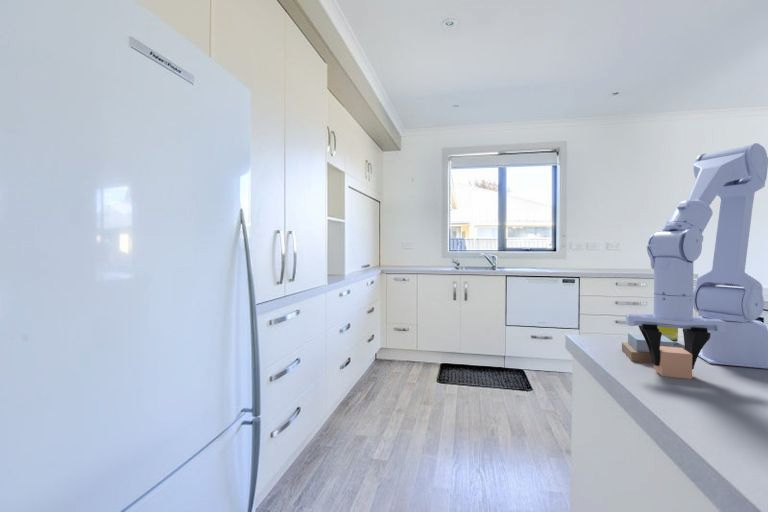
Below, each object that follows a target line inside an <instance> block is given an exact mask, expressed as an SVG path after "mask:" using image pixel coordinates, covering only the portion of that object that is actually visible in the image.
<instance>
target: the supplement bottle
mask: <svg viewBox="0 0 768 512" xmlns="http://www.w3.org/2000/svg"><path fill="white" fill-rule="evenodd" d="M654 324H655V323H654ZM662 324H664V323H662ZM670 325H673V324H670ZM657 328H658V329H659V331H660V332H661V333H662V335H663V336H665V337H667V338H668V339H670V340H671V341H673V342H674V345H675V344H678V342H677V341H678V339H679V337H678V336H679V334H678V333H679V330H678V329H679V328H668V327H657Z"/></svg>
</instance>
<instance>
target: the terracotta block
mask: <svg viewBox="0 0 768 512" xmlns="http://www.w3.org/2000/svg"><path fill="white" fill-rule="evenodd" d="M653 369H654V370H655V371H656V372H657V373H658V374H659V375H660V376H662V377H668V378H676V379H687V380H692V379H693V369H692V354H691V353H689V352H688V351H686V350H685V348H683V347H676V346H674V347H665V346H660V365H659V366H655V365H654V364H653Z"/></svg>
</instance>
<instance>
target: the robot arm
mask: <svg viewBox="0 0 768 512" xmlns="http://www.w3.org/2000/svg"><path fill="white" fill-rule="evenodd" d="M693 173H694V177H695V180H694V183H693V184H692V188H691V190H690V192H689V194H688V197H687V199H686V200H683V201H680V202H678V203H677V204H676V206H675V208H674V209H673V211H672V213H671V214H670V215H669V218H668V220H667V221H666V222H665V225H664V226H663V228H662V229H661V231H657V232H655V233H654V234H652V235H651V236H650V237H649V240H648V243H647V245H646V250H647V251H646V252H647V255H648V257H649V260H650V267H651V269H652V270H653V314H631V313H630V314H628V313H626V314H625V324H626V325H627V326H629V327H635V326H638V328H639V331H640V332H641V334H643V336H644V338H645V340H646V343H647V345H648V348H649V351H650V355H651V360H652V363H651V364H652V365H653V366H654V365H655V366H659V365H660V341H661V336H662V333H661V332H660V331H659V329H658V328H657V327H668V328H678V329H682V333H683V342H684V343H683V344H684V349H685V350H686V351H688V352H689V353H691V354H692V370H694V368H695V365H696V362H697V359H698V357H700V358H701V359H702V360H704V361H705V362H707V363H709V364H713V365H725V366H735V367H736V366H737V367H746V368H755V369H756V368H757V369H759V368H760V369H768V327H767V326H766V324H765V323H764V322H762V321H761V320H757V319H758V318H760V317H761V316H762V313H763V311H764V307H765V300H764V296H763V290H764V288H763V284H762V283H761V282H760V281H758V280H757V279H756V278H754V277H753V276H751V275H749V274H748V273H746V264H747V255H748V247H749V238H750V232H751V231H750V229H751V223H752V222H751V221H752V214H753V207H754V206H753V205H754V199H755V193H756V192H757V191H759V190H761V189H763V188H764V187H766V181H767V176H768V154H767V150H766V149H765V147H764V146H763V145H761V144H760V143H758V142H755V143H751V144H749V145H743V146H740V147H733V148H729V149H723V150H719V151H714V152H710V153H701V154H699V155H698V156H697V157H696V159H695V160H694V163H693ZM716 197H719V199H720V204H719V211H718V212H719V213H718V220H717V221H718V222H717V228H716V235H715V236H716V237H715V244H714V252H713V258H712V259H713V260H712V267H711V268H712V269H711V270H709V271H708V272H706V273H704V274H703V275H701V276H699V277H697V279H696V282H695V286H694V264H695V261H696V260H697V259H699V257H700V256H701V253H702V249H703V241H704V236H703V233H704V231H705V229H706V228H707V225H708V224H709V221H710V220H711V218H712V216H713V208H711V207H710V206H711V204H712V203H713V201H714V200H715V198H716ZM694 311H695V312H696V313H698V316H699V317H698V316H697V317H694V313H693V312H694ZM654 323H655V324H654ZM662 323H664V324H662ZM670 324H673V325H670Z"/></svg>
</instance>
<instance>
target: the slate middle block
mask: <svg viewBox="0 0 768 512" xmlns="http://www.w3.org/2000/svg"><path fill="white" fill-rule="evenodd" d="M627 343H628V344H629V345H630V346H631V347H632V348H633V349H634V350H636V351H638V352H650V351H649V348H648V345H647V343H646V340H645V338H644V336H643V334H642V333H639V332H638V333H635V332H634V333H633V332H627ZM660 346H665V347H675V344H674V342H673V341H671V340H670V339H668V338H667V337H665V336H663V335H662V336H661V341H660Z"/></svg>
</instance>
